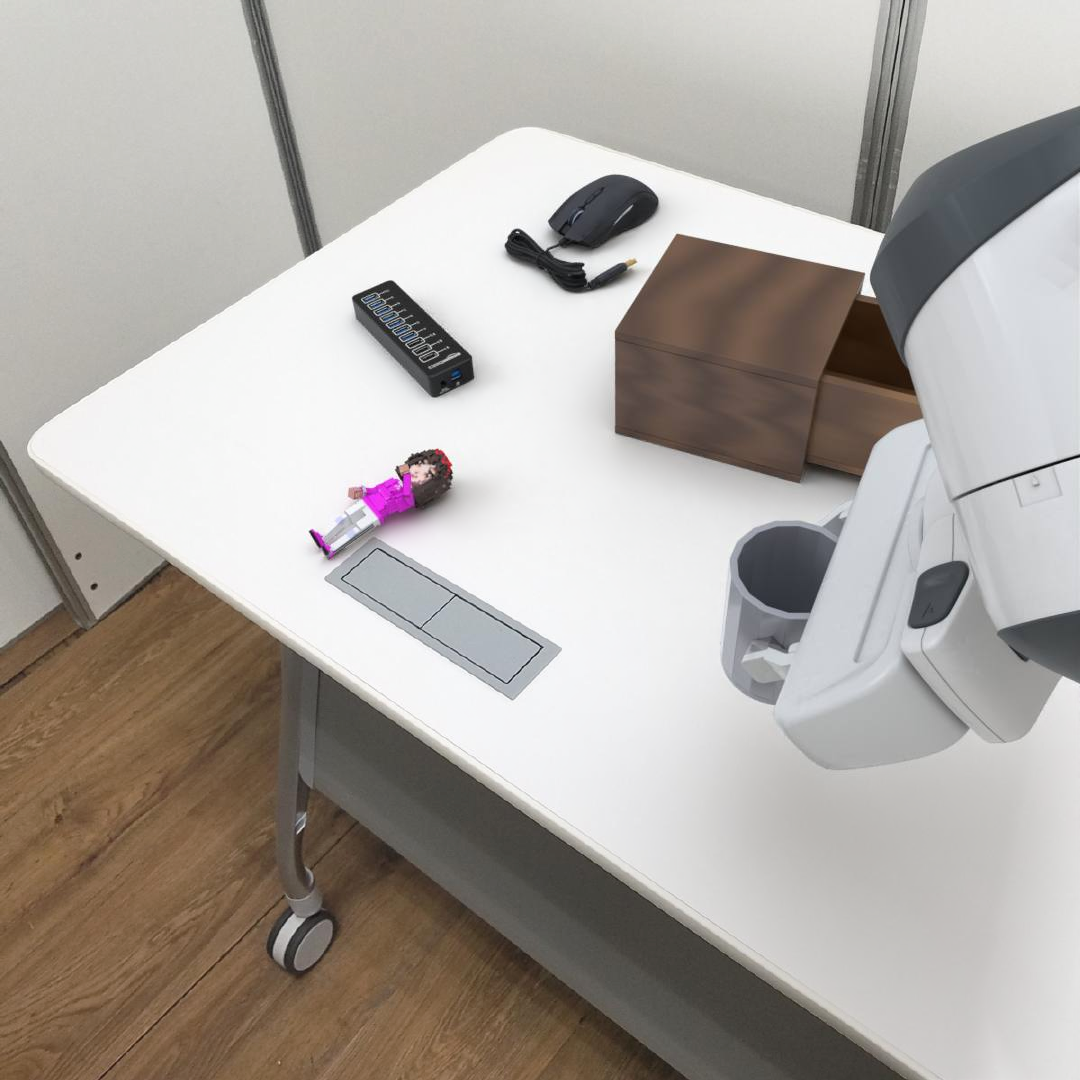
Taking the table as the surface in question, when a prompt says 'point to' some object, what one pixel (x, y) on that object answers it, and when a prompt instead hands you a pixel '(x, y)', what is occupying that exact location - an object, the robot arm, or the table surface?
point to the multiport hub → (413, 338)
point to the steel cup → (771, 594)
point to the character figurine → (389, 498)
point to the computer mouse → (589, 227)
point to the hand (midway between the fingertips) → (774, 607)
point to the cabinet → (730, 353)
